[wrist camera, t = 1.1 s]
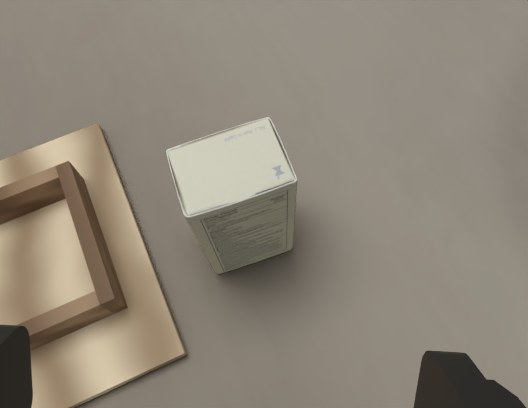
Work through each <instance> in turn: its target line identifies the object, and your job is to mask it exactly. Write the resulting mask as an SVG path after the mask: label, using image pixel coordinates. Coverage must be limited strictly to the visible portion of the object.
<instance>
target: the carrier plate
mask: <svg viewBox="0 0 528 408" xmlns="http://www.w3.org/2000/svg"><path fill="white" fill-rule="evenodd" d="M0 325H17V326H25V327H26V328H27V330H28V332H29V337H30V353H31V370H32V387H33V400H32V406H31V408H75V407H77V406H79V405H81V404H83V403H85V402H87V401H90V400H92V399H94V398H96V397H98V396H100V395H102V394H105V393H107V392H109V391H111V390H113V389H115V388H117V387H119V386H122V385H124V384H126V383H128V382H130V381H132V380H134V379H137V378H139V377H141V376H143V375H145V374H147V373H149V372H151V371H154V370H156V369H158V368H160V367H162V366H164V365H166V364H169V363H171V362H173V361H175V360H177V359H179V358H181V357H183V356H186V355H187V353H186V350H185V347H184V345H183V342H182V339H181V337H180V334H179V332H178V329H177V326H176V324H175V321H174V318H173V316H172V313H171V310H170V308H169V305H168V302H167V300H166V297H165V295H164V292H163V289H162V287H161V284H160V281H159V279H158V276H157V273H156V271H155V268H154V265H153V263H152V260H151V258H150V255H149V252H148V250H147V247H146V244H145V242H144V239H143V236H142V234H141V231H140V228H139V226H138V223H137V220H136V218H135V215H134V213H133V210H132V207H131V205H130V202H129V199H128V197H127V194H126V191H125V189H124V186H123V183H122V181H121V178H120V176H119V173H118V170H117V168H116V165H115V162H114V160H113V157H112V154H111V152H110V149H109V146H108V144H107V141H106V138H105V136H104V133H103V131H102V129H101V127H100V125H99V124H98V123H97V124H94V125H91V126H89V127H86V128H84V129H81V130H78V131H76V132H73V133H71V134H68V135H65V136H63V137H60V138H57V139H55V140H52V141H50V142H47V143H44V144H42V145H39V146H37V147H34V148H31V149H29V150H26V151H23V152H21V153H18V154H16V155H13V156H10V157H8V158H5V159H3V160H0Z"/></svg>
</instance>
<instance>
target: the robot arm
mask: <svg viewBox="0 0 528 408" xmlns="http://www.w3.org/2000/svg"><path fill="white" fill-rule="evenodd" d="M32 400H33V387H32V370H31V353H30V337H29V332H28V330H27V328H26V327H25V326H17V325H0V408H31V406H32ZM414 408H526V407H525V406H524V404H523V403H522V402H521V401H520V400H519V398H518V397H517V396H515V395H514V394H512V393H511V392H510V391H508V390H507V389H505V388H504V387H503V386H501V385H500V384H499V383H497V382H496V381H494V380H486V379H485V377H484V376H483V375H482V373H481V372H480V371H479V369H478V368H477V367H476V365H475V364H474V363H473V361H472V360H471V359H470V357H469V356H468V355H467V354H466V353H459V352H442V351H426V352H425V353H424V355H423V358H422V361H421V367H420V373H419V379H418V385H417V391H416V397H415V403H414Z"/></svg>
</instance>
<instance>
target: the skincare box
mask: <svg viewBox="0 0 528 408" xmlns="http://www.w3.org/2000/svg"><path fill="white" fill-rule="evenodd" d="M166 154H167V158H168V161H169V165H170V169H171V173H172V177H173V180H174V184H175V188H176V191H177V194H178V198H179V201H180V204H181V207H182V211H183V214H184V216H185V218H186V220H187V221H188V223H189V225H190V227H191V229H192V230H193V232H194V234H195V236H196V238H197V240H198V242H199V244H200V245H201V247H202V249H203V251H204V253H205V255H206V257H207V258H208V260H209V262H210V264H211V266H212V268H213V270H214V271H215V273H216V274H221V273H224V272H227V271H231V270H234V269H237V268H240V267H243V266H246V265H249V264H252V263H255V262H258V261H261V260H264V259H267V258H269V257H272V256H275V255H278V254H281V253H283V252H286V251H289V250H291V249H292V248H293V237H294V222H295V208H296V193H297V178H296V176H295V173H294V170H293V168H292V165H291V163H290V160H289V158H288V155H287V153H286V151H285V148H284V146H283V144H282V141H281V139H280V137H279V134H278V132H277V130H276V128H275V126H274V124H273V122H272V120H271V118H269V117H266V118H263V119H259V120H256V121H252V122H248V123H245V124H242V125H239V126H236V127H233V128H229V129H226V130H223V131H220V132H217V133H214V134H210V135H208V136H205V137H202V138H199V139H196V140H193V141H190V142H187V143H184V144H181V145H178V146H175V147H173V148H170V149H167V150H166Z"/></svg>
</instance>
